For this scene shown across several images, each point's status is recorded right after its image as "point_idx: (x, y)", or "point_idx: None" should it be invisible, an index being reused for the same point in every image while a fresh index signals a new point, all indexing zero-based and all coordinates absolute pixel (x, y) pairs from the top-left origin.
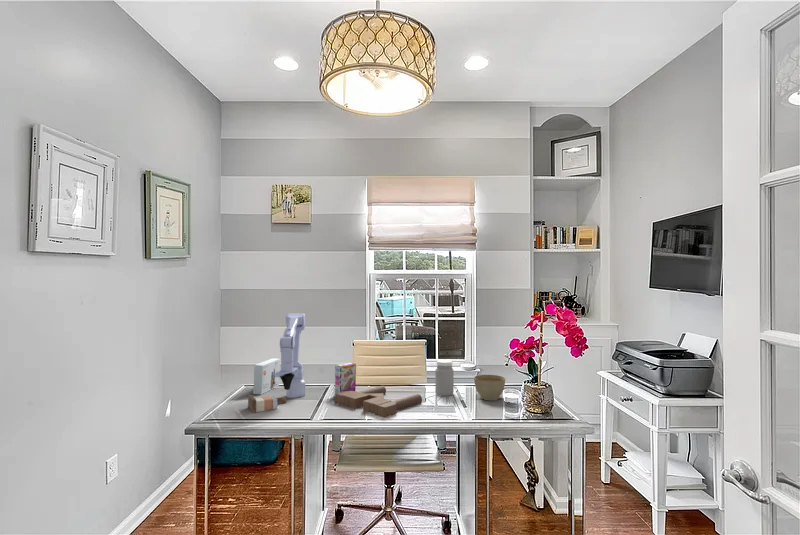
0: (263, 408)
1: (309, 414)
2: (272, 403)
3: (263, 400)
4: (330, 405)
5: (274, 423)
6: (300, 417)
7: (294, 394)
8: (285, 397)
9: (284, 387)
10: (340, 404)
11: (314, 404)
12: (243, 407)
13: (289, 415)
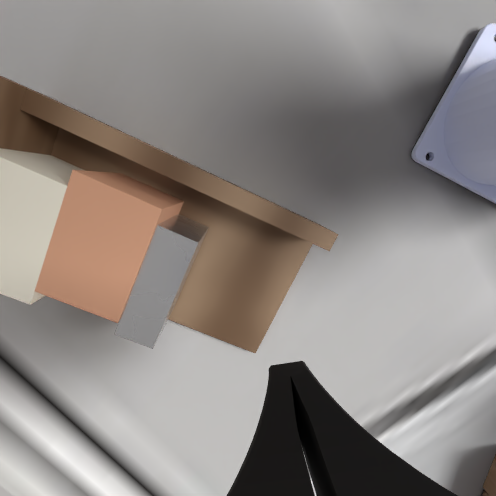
0: None
1: None
2: None
3: (23, 297)
4: (444, 455)
5: (23, 465)
6: (182, 487)
7: (489, 174)
8: (324, 248)
9: (269, 385)
10: (485, 482)
11: (416, 377)
12: (45, 5)
13: (165, 425)
